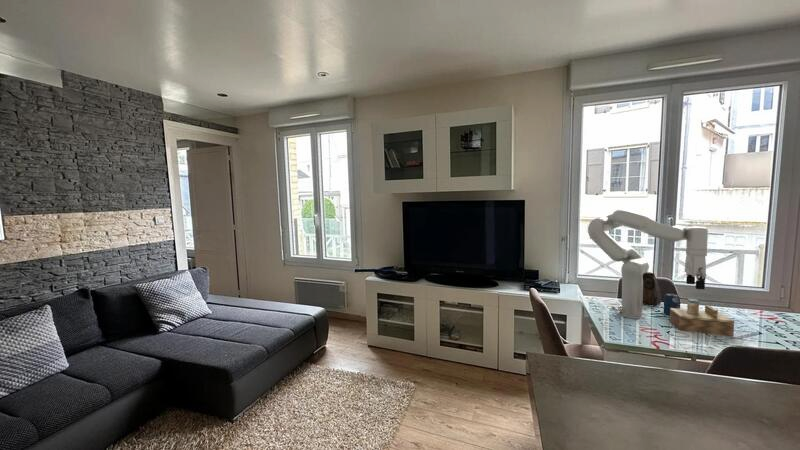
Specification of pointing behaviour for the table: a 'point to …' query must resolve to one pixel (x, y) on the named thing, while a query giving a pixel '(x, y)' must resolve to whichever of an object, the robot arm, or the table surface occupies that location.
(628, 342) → the table surface
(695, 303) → the block
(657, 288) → the owl
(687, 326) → the wooden box with slot
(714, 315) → the lid
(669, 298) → the soda can
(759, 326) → the table surface
